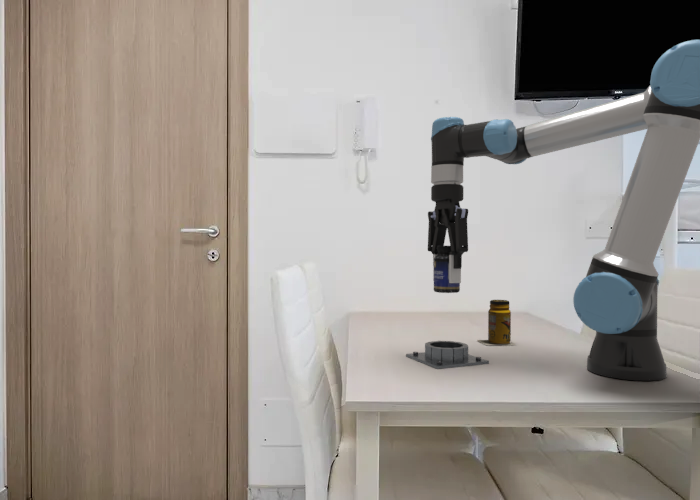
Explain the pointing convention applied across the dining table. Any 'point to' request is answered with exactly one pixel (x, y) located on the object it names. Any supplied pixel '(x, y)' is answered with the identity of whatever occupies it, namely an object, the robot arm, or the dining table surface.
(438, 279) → the pill bottle
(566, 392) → the dining table surface
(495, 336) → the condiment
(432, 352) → the fitting
